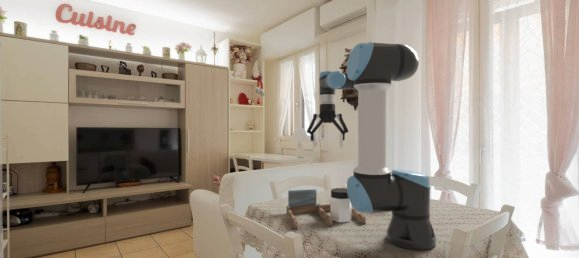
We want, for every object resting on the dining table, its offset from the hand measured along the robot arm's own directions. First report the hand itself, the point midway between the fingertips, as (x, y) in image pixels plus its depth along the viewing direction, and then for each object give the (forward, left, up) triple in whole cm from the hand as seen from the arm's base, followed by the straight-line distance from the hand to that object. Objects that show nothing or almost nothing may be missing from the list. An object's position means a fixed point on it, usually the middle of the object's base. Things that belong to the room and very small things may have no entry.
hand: (327, 147), depth 142 cm
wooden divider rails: (-22, +9, -28) cm, 36 cm away
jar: (-23, +2, -28) cm, 36 cm away
